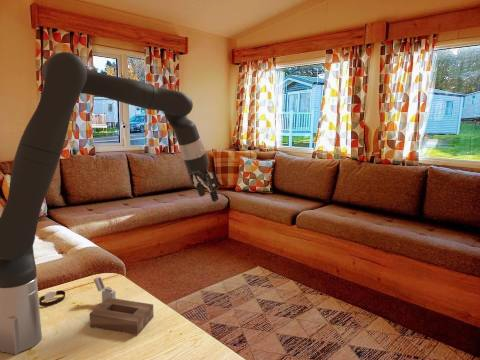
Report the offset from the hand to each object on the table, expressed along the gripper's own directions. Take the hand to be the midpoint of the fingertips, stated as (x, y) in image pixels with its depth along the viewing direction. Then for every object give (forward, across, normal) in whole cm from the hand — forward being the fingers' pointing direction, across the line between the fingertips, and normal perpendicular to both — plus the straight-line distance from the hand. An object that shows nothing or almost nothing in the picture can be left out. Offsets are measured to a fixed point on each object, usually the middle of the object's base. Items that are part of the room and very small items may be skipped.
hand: (209, 198), depth 119 cm
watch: (+13, -17, -55) cm, 59 cm away
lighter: (+18, -8, -42) cm, 47 cm away
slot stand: (+18, +6, -41) cm, 45 cm away
